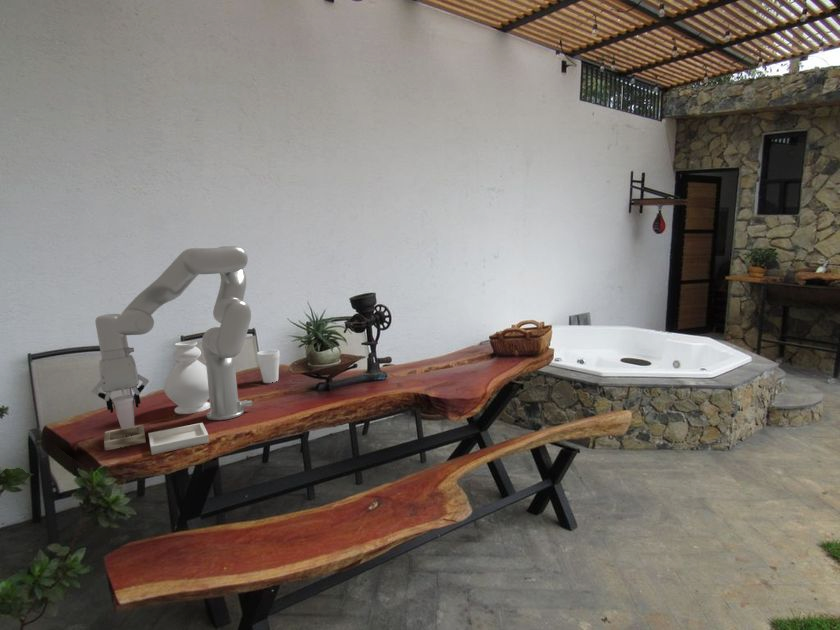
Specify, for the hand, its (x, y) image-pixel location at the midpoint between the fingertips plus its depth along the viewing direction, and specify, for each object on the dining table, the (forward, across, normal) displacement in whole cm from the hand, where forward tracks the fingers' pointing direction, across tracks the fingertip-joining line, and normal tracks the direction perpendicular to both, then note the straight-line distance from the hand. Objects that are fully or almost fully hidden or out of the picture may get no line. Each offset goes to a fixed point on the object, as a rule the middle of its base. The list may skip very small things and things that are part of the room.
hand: (124, 408), depth 165 cm
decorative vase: (+12, -21, -22) cm, 32 cm away
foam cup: (+13, -55, -42) cm, 70 cm away
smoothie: (+6, 0, 0) cm, 6 cm away
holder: (+10, +1, 0) cm, 10 cm away
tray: (+11, -13, +11) cm, 20 cm away
